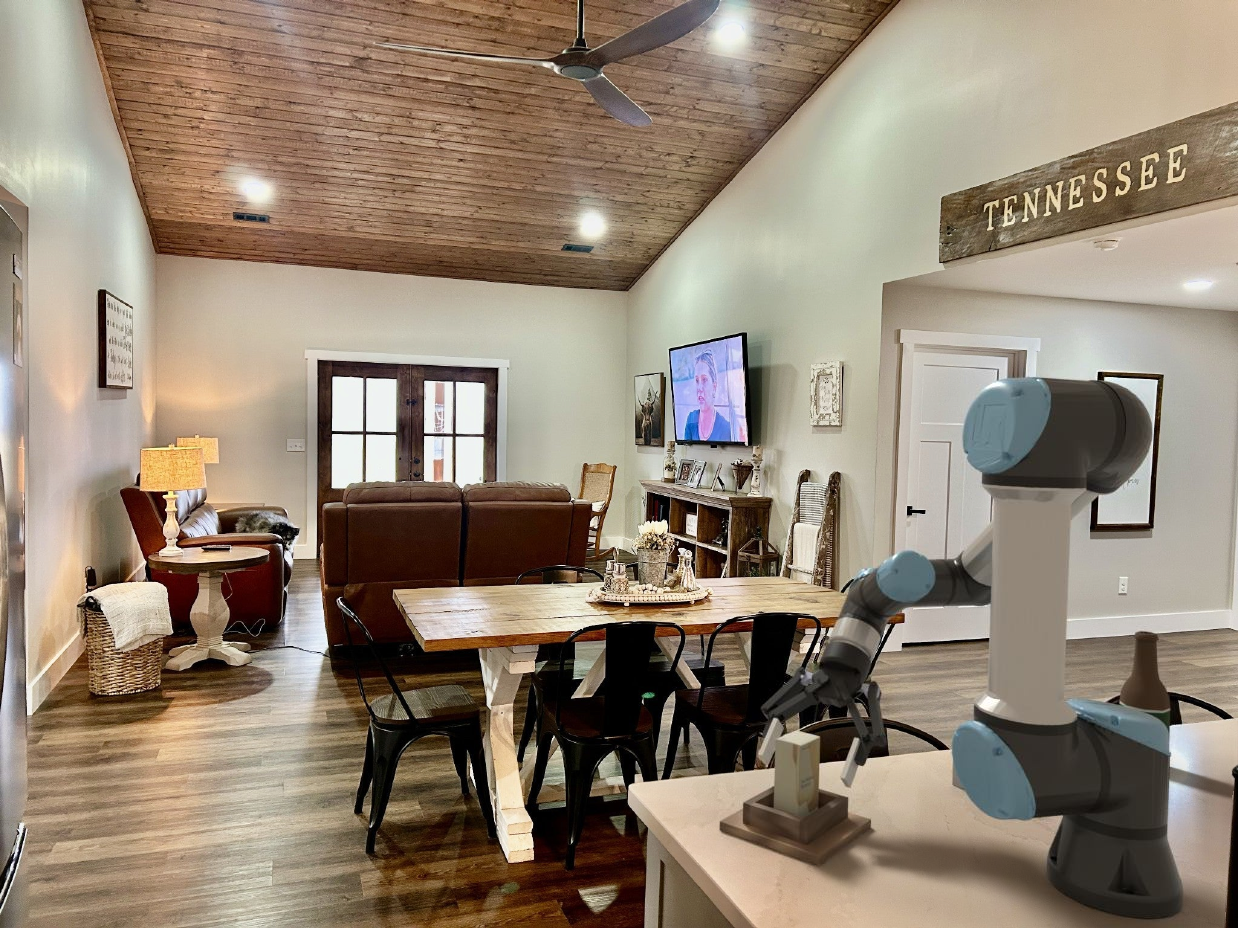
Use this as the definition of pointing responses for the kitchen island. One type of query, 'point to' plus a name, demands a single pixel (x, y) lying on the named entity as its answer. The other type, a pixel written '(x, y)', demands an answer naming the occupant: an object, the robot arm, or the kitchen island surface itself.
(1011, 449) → the robot arm
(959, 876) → the kitchen island surface
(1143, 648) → the beer bottle
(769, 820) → the walnut box stand
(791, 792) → the skincare box
